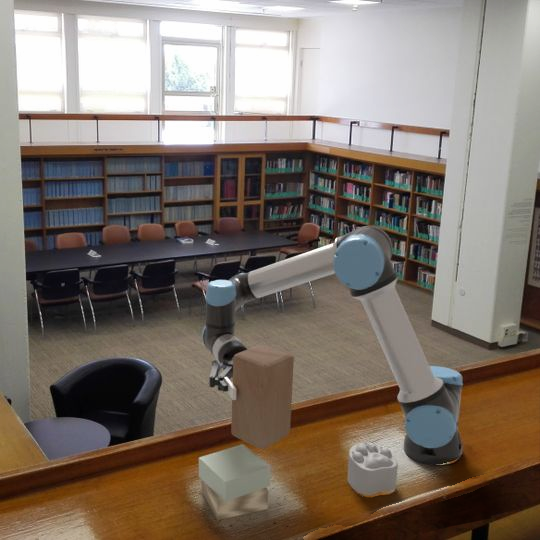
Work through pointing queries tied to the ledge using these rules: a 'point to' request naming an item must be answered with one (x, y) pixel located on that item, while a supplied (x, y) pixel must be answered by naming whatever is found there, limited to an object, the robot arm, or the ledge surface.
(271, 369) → the block
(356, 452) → the lumpy-topped squat cylinder
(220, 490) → the tower top
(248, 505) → the tower bottom
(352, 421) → the ledge surface
